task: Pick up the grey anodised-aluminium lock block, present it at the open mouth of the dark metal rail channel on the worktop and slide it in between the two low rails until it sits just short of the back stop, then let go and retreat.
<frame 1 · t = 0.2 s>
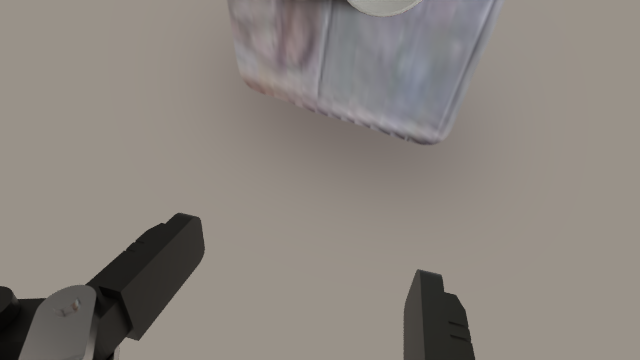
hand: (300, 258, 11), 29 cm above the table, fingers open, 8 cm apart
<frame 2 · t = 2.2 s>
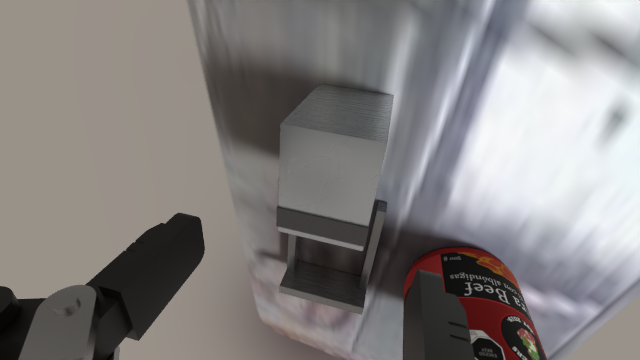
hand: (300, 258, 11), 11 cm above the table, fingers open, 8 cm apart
lock block: (349, 135, 20), on the table
canned food: (455, 279, 24), on the table
rail channel: (334, 233, 24), on the table
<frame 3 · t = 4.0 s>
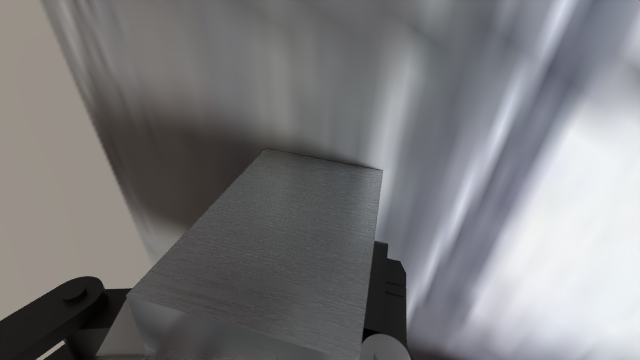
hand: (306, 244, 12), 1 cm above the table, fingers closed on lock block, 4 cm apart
lock block: (315, 222, 13), on the table, touching gripper
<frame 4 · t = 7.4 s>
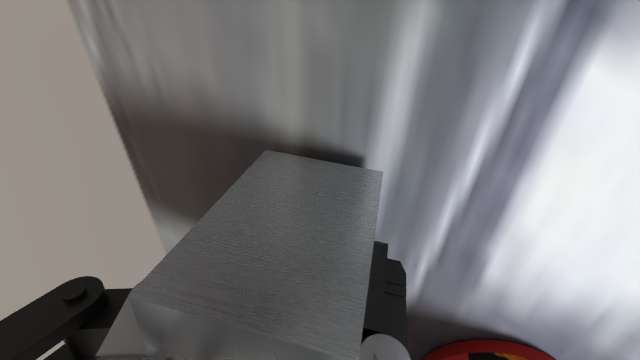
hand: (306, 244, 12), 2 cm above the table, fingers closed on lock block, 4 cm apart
lock block: (316, 223, 13), point 1 cm above the table, touching gripper
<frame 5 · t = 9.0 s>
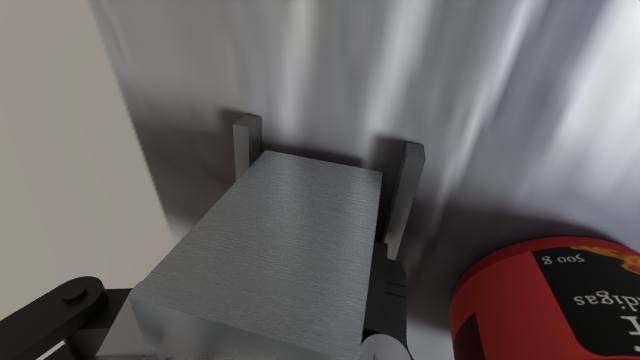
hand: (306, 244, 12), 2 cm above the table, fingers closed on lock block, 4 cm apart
lock block: (315, 223, 13), point 1 cm above the table, touching gripper
canned food: (544, 296, 13), on the table, touching hand
rail channel: (321, 213, 14), on the table
when the fingers open (2 cm above the table, at t = 10.2 s): lock block stays where it is, resting in rail channel.
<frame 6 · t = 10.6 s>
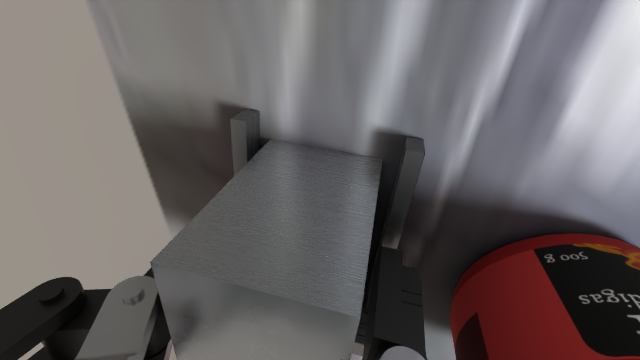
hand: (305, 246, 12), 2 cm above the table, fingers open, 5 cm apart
lock block: (318, 210, 14), resting in rail channel
canned food: (545, 294, 13), on the table, touching hand
rail channel: (320, 209, 13), on the table
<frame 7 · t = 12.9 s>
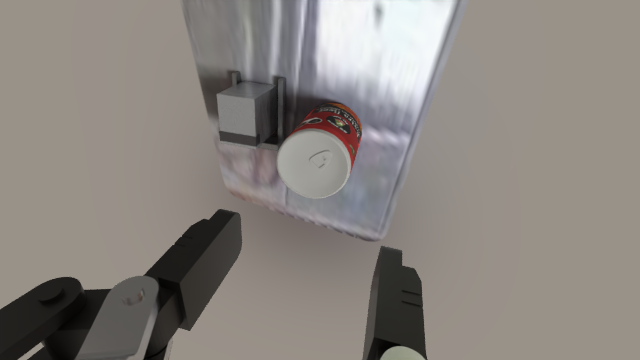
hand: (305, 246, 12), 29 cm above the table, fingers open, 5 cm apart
lock block: (260, 105, 41), resting in rail channel
canned food: (333, 129, 41), on the table
rail channel: (261, 105, 41), on the table
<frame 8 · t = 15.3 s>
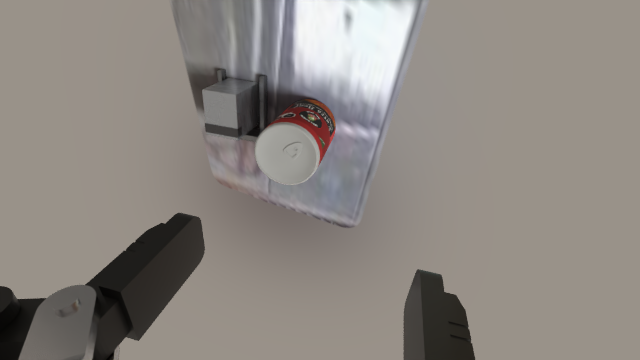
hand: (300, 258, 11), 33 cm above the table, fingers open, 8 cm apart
lock block: (244, 100, 45), resting in rail channel
canned food: (310, 123, 45), on the table
rail channel: (245, 100, 45), on the table
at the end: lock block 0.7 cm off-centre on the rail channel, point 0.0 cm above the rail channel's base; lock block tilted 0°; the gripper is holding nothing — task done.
